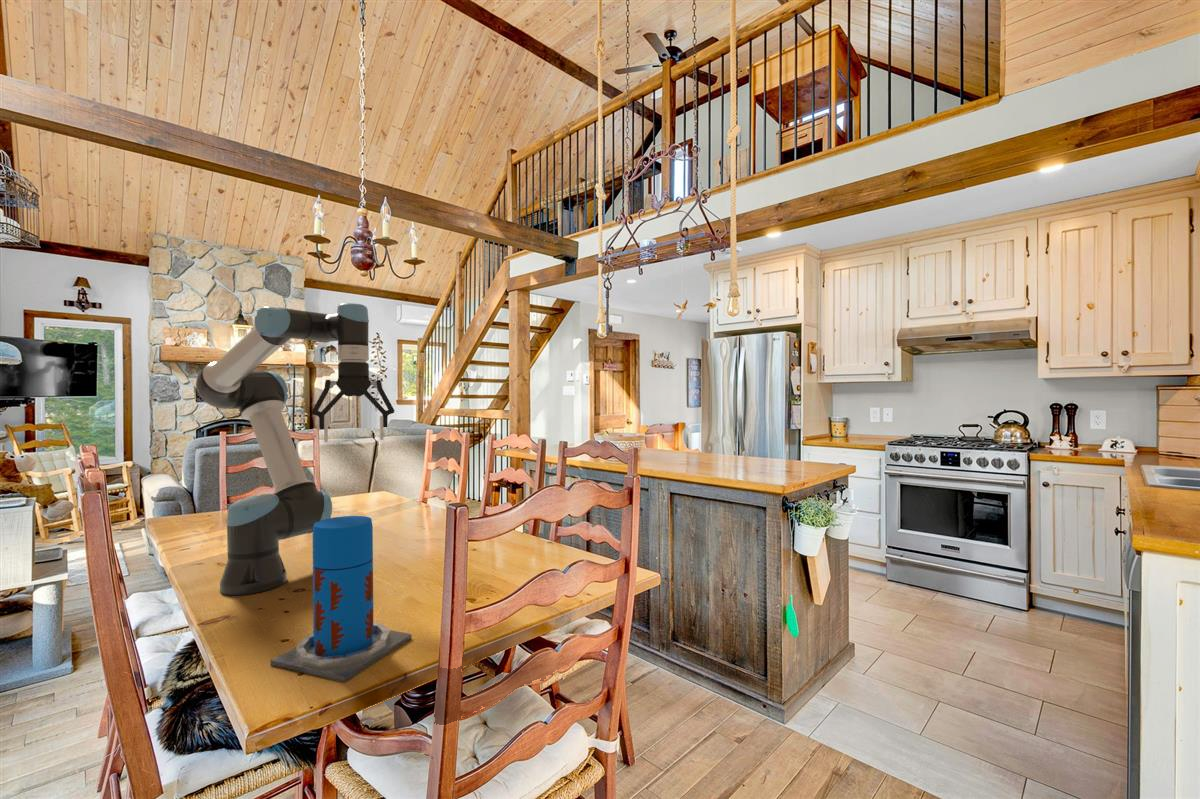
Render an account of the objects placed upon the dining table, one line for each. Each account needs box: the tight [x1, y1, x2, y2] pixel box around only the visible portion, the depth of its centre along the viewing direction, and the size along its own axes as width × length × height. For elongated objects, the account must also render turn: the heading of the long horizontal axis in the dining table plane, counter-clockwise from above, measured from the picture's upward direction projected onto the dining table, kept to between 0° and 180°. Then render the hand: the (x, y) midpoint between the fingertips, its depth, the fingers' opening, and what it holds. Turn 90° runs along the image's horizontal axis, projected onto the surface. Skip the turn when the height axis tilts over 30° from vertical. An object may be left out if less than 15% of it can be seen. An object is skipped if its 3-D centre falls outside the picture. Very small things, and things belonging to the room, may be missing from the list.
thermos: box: [312, 515, 374, 657], centre depth 108 cm, size 11×11×25 cm
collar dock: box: [269, 621, 413, 683], centre depth 108 cm, size 18×18×2 cm
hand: (354, 440), depth 146 cm, fingers open, 13 cm apart
